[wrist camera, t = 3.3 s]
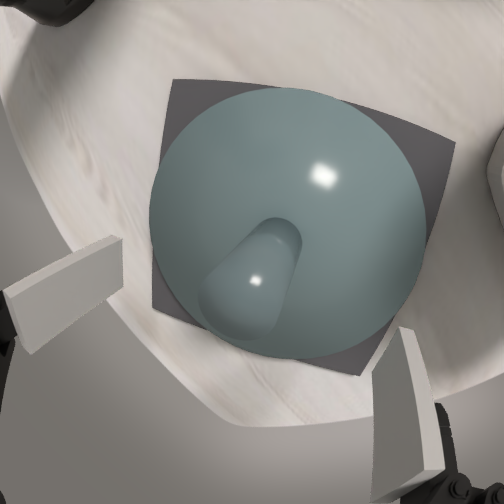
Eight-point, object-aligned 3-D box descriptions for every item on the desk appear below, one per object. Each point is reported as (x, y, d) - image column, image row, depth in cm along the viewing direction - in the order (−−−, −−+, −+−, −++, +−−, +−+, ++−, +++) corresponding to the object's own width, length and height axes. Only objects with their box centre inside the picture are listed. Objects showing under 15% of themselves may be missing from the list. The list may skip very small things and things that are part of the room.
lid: (152, 307, 25) (93, 363, 17) (173, 79, 16) (83, 56, 9) (359, 375, 21) (356, 461, 13) (455, 142, 13) (536, 146, 5)
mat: (155, 304, 25) (152, 307, 25) (177, 80, 17) (172, 79, 16) (359, 371, 21) (359, 376, 21) (452, 142, 13) (455, 142, 13)
